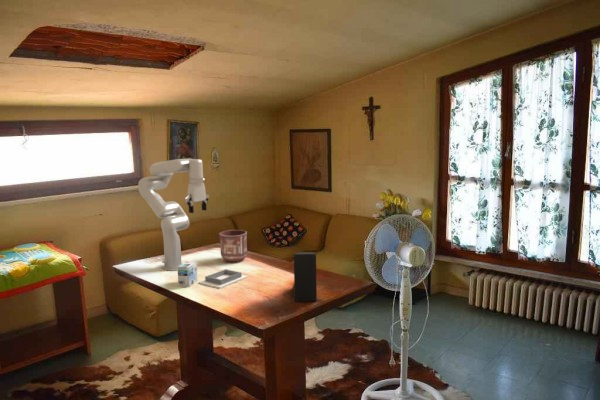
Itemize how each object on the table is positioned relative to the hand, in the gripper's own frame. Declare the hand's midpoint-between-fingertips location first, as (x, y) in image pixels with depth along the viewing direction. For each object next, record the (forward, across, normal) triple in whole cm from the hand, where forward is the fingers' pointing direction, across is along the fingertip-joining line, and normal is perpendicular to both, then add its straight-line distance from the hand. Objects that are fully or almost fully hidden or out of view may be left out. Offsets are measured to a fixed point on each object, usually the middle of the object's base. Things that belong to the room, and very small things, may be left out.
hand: (197, 211), depth 255 cm
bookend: (+37, -6, +68) cm, 78 cm away
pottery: (+37, -32, -4) cm, 49 cm away
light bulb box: (+37, +15, +6) cm, 40 cm away
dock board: (+37, +1, +19) cm, 41 cm away
